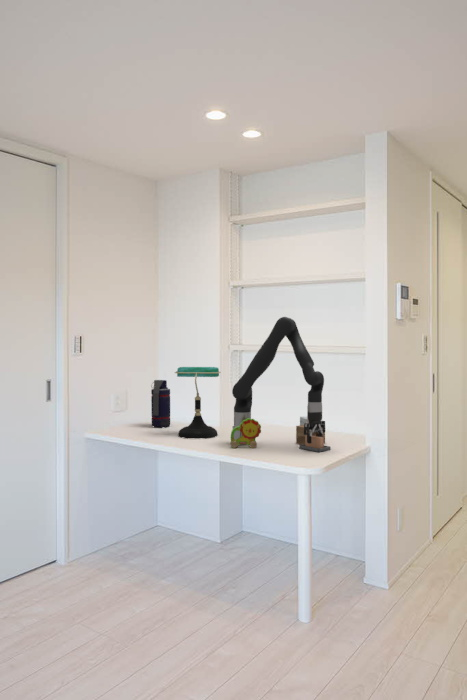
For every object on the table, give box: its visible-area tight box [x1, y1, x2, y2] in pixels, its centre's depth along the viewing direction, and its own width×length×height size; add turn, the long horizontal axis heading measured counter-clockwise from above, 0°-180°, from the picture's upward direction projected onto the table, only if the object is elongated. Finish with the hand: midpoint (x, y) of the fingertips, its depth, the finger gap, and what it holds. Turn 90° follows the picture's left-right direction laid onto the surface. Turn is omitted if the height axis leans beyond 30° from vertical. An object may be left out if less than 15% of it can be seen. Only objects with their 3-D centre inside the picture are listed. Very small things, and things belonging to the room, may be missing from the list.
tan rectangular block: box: [305, 435, 325, 449], centre depth 294 cm, size 2×10×6 cm, turn 42°
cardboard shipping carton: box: [295, 424, 326, 445], centre depth 309 cm, size 12×10×10 cm
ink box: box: [299, 416, 309, 426], centre depth 327 cm, size 9×9×12 cm
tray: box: [298, 444, 331, 453], centre depth 293 cm, size 9×13×2 cm
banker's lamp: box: [174, 366, 221, 439], centre depth 335 cm, size 26×23×40 cm
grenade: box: [150, 379, 171, 428], centre depth 367 cm, size 14×12×30 cm
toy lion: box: [230, 418, 262, 449], centre depth 299 cm, size 16×5×15 cm, turn 90°
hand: (314, 442), depth 293 cm, fingers open, 8 cm apart
